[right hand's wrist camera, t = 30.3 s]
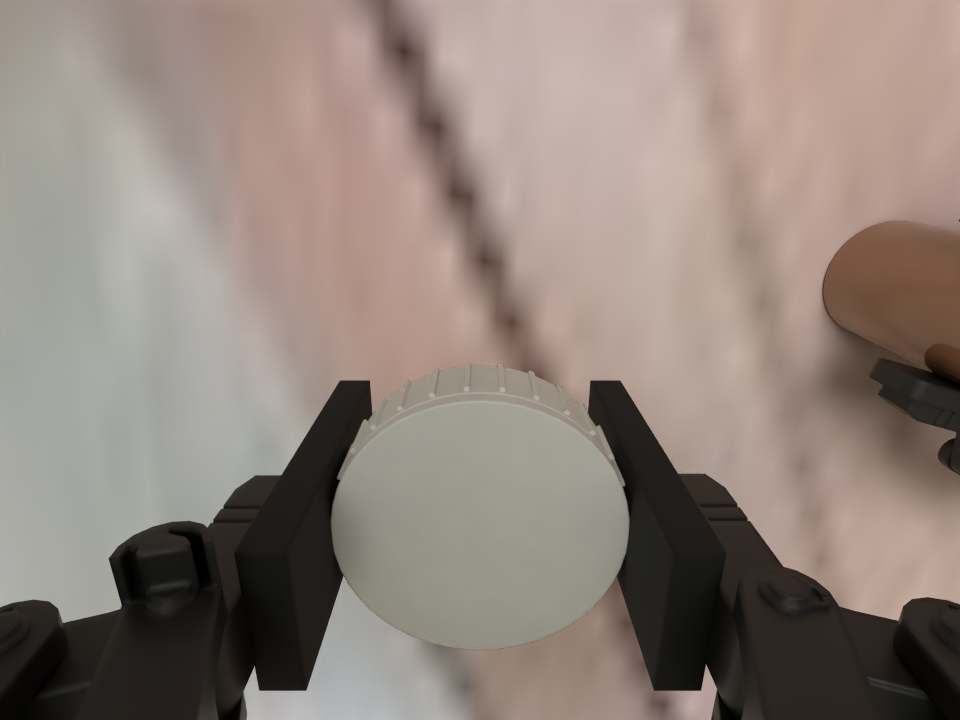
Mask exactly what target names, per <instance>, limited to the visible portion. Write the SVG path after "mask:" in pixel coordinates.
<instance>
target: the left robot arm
mask: <svg viewBox="0 0 960 720" xmlns="http://www.w3.org/2000/svg"><path fill="white" fill-rule="evenodd" d="M959 221H960V220H959ZM869 376H870V377H871V378H872V379H874V380H876V381H878V382H879V383H881V384H883V387H882V389H881V390H880V392H879V394H878V395H880V396H881V397H882V398H883V399H884V400H885V401H886V402H888V403H889V404H891V405H892V406H894V407H895V408H897V409H899V410H900V411H902V412H904V413H905V414H907V415H908V416H910V417H912V418H913V419H915V420H916V421H919V422H923V423H926V424H930V425H934V426H937V427H941V428H945V429H948V430H952V431H955V432H956V438H954V439H951V440H949V441H947V442H946V443H945V444H943V446H942V447H941V448H940V450H939V452H938V459H939V461H940V462H941V463H942V464H943V465H945V466H946V467H948V468H949V469H951V470H952V471H954V472H956V473H957V474H959V475H960V385H958V384H956V383H954V382H952V381H950V380H948V379H946V378H944V377H942V376H940V375H938V374H935V373H932V372H929V371H925V370H922V369H918V368H915V367H911V366H908V365H904V364H901V363H897V362H894V361H890V360H887V359H883V358H879V359H878V361H877V363H876V364H875V366H874V368H873V370H872V371H871V373H870V375H869Z"/></svg>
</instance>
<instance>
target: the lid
mask: <svg viewBox="0 0 960 720" xmlns="http://www.w3.org/2000/svg"><path fill="white" fill-rule="evenodd" d="M337 479H339V480H340V482H339V485H338V487H337V490H336V493H335V497H334V500H333V504H332V512H331V531H332V540H333V548H334V553H335V556H336V559H337V562H338V564H339V567H340V570H341V571H342V573H343V575H344V577H345V579H346V581H347V583H348V584H349V586H350V587H351V588H352V590H353V591H354V592H355V594H356V595H357V596H358V598H359V599H360V600H361V601H362V602H363V603H364V604H365V605H366V606H367V607H368V608H369V609H370V610H371V611H373V612H374V613H375V614H376V615H377V616H379V617H380V618H381V619H382V620H384V621H385V622H387V623H389V624H390V625H392V626H393V627H395V628H396V629H398V630H400V631H403V632H405V633H407V634H409V635H411V636H413V637H416V638H418V639H421V640H424V641H427V642H430V643H434V644H438V645H442V646H446V647H452V648H459V649H473V650H488V649H502V648H508V647H514V646H519V645H523V644H527V643H530V642H534V641H537V640H539V639H542V638H545V637H547V636H550V635H552V634H554V633H556V632H558V631H560V630H562V629H564V628H566V627H567V626H569V625H570V624H572V623H573V622H575V621H576V620H578V619H579V618H581V617H582V616H583V615H584V614H585V613H587V612H588V611H589V610H590V609H591V608H593V607H594V605H595V604H596V603H597V602H598V601H599V600H600V599H601V598H602V597H603V596H604V594H605V593H606V592H607V590H608V589H609V587H610V586H611V585H612V583H613V582H614V580H615V578H616V576H617V574H618V572H619V570H620V568H621V566H622V563H623V560H624V557H625V554H626V550H627V544H628V535H629V522H630V517H629V510H628V503H627V499H626V496H625V493H624V489H623V486H625V482H624V479H623V477H622V475H621V473H620V470H619V468H618V466H617V464H616V461H615V459H614V455H613V453H612V451H611V449H610V446H609V444H608V442H607V440H606V437H605V435H604V433H603V431H602V428H601V427H600V425H599V426H597V427H596V426H595V424H594V423H593V421H592V420H591V418H590V417H589V414H588V412H587V410H586V407H585V405H584V404H583V403H580V404H578V403H577V402H576V401H574V400H573V399H572V398H571V397H570V396H568V395H567V394H566V393H565V392H564V391H563V388H562V386H560V385H559V384H557V386H554V385H552V384H551V383H549V382H547V381H545V380H543V379H540V378H538V377H536V376H535V374H534V372H532V371H529V373H525V372H521V371H518V370H515V369H509V368H503V364H498V366H480V365H478V366H471V363H465V366H464V367H457V368H451V369H446V370H442V371H439V369H434V370H433V374H430V375H427V376H424V377H422V378H420V379H418V380H416V381H414V382H410V381H409V380H408V381H406V382H405V383H404V386H403V388H402V389H400V390H399V391H397V392H395V393H394V394H393V395H392V396H391V397H389V398H388V399H387V400H386V399H385V398H383V399H382V400H381V401H380V403H379V406H378V408H377V410H376V411H375V412H374V414H373V415H372V416H371V417H370V419H369V420H368V421H367V420H365V419H364V421H363V422H362V424H361V427H360V429H359V431H358V433H357V436H356V438H355V440H354V443H353V444H352V445H351V447H350V449H349V451H348V454H347V456H346V458H345V460H344V463H343V465H342V467H341V469H340V472H339V474H338V476H337Z"/></svg>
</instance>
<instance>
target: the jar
mask: <svg viewBox="0 0 960 720" xmlns="http://www.w3.org/2000/svg"><path fill="white" fill-rule="evenodd" d="M823 296H824V302H825V305H826V308H827V310H828V312H829V314H830V316H831V317H832V319H833V320H834V321H835V322H836V323H837V324H838V325H840V326H841V327H842V328H844V329H846V330H848V331H850V332H852V333H854V334H856V335H858V336H860V337H862V338H864V339H866V340H868V341H870V342H872V343H874V344H877V345H879V346H881V347H883V348H885V349H887V350H889V351H891V352H893V353H895V354H897V355H899V356H901V357H903V358H905V359H907V360H909V361H911V362H913V363H915V364H917V365H919V366H921V367H923V368H925V369H927V370H929V371H931V372H933V373H935V374H938V375H940V376H942V377H944V378H946V379H948V380H950V381H952V382H954V383H956V384H958V385H960V231H958V230H953V229H947V228H941V227H935V226H929V225H923V224H918V223H912V222H906V221H889V222H884V223H879V224H877V225H874V226H871V227H869V228H867V229H865V230H863V231H861V232H860V233H858V234H856V235H855V236H854V237H852V238H851V239H850V240H849V241H848V242H847V243H846V244H845V245H843V247H842V248H841V249H840V250H839V251H838V252H837V254H836V255H835V257H834V258H833V260H832V262H831V264H830V266H829V268H828V270H827V273H826V276H825V280H824V287H823Z"/></svg>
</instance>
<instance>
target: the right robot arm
mask: <svg viewBox="0 0 960 720" xmlns="http://www.w3.org/2000/svg"><path fill="white" fill-rule="evenodd" d="M588 414H589V417H590V418H591V420H592V421H593V423H594V424H595V426H596V427H597V426H599V425H600V427H601V428H602V431H603V433H604V435H605V437H606V440H607V442H608V444H609V446H610V449H611V451H612V453H613V455H614V459H615V461H616V464H617V466H618V468H619V470H620V473H621V475H622V477H623V479H624V482H625V486H623V489H624V493H625V496H626V499H627V503H628V510H629V517H630V522H629V535H628V544H627V550H626V554H625V557H624V560H623V563H622V566H621V568H620V570H619V572H618V574H617V578H618V581H619V584H620V587H621V590H622V593H623V596H624V599H625V602H626V605H627V608H628V612H629V615H630V618H631V621H632V624H633V627H634V630H635V633H636V636H637V639H638V642H639V645H640V649H641V652H642V655H643V658H644V661H645V664H646V667H647V670H648V673H649V676H650V679H651V682H652V686H653V689H654V691H701V687H702V682H703V677H704V671H705V666H706V665H707V667H708V669H709V671H710V674H711V676H712V678H713V680H714V683H715V685H716V687H717V693H716V698H715V703H714V708H713V713H712V718H711V720H960V605H959V604H957V603H954V602H951V601H948V600H941V599H935V598H928V597H927V598H919V599H912V600H911V601H909V602H908V603H907V604H906V605H904V606H903V609H902V612H901V615H900V618H899V621H896V620H892V619H887V618H883V617H879V616H874V615H870V614H865V613H861V612H857V611H852V610H849V609H846V608H842V607H839V606H838V604H837V602H836V601H835V599H834V598H833V596H832V595H831V593H830V592H829V591H828V590H827V589H825V588H824V587H823V586H822V585H820V584H819V583H818V582H817V581H816V580H814V579H812V578H810V577H808V576H806V575H804V574H802V573H800V572H798V571H796V570H793V569H789V568H786V567H783V566H782V564H781V563H780V562H779V560H778V559H777V558H776V556H775V555H774V553H773V552H772V551H771V549H770V548H769V547H768V545H767V544H766V543H765V541H764V540H763V538H762V537H761V536H760V534H759V533H758V532H757V530H756V529H755V528H754V526H753V525H752V523H751V522H750V521H747V517H746V515H745V514H744V513H743V511H742V510H741V509H740V507H737V503H736V502H735V500H734V499H733V498H732V496H731V495H730V494H729V492H728V491H727V489H726V488H725V487H723V486H722V485H720V484H719V483H718V482H716V481H715V480H713V479H712V478H710V477H709V476H707V475H706V474H678V473H677V472H676V470H675V468H674V467H673V465H672V463H671V462H670V460H669V459H668V457H667V455H666V454H665V452H664V451H663V449H662V447H661V446H660V444H659V442H658V441H657V439H656V438H655V436H654V434H653V433H652V431H651V430H650V428H649V426H648V425H647V423H646V421H645V420H644V418H643V417H642V415H641V413H640V412H639V410H638V409H637V407H636V405H635V404H634V402H633V400H632V399H631V397H630V396H629V394H628V392H627V391H626V389H625V387H624V386H623V384H622V383H621V381H590V395H589V408H588ZM371 416H372V404H371V390H370V381H340V382H339V383H338V385H337V386H336V388H335V390H334V391H333V393H332V395H331V396H330V398H329V399H328V401H327V403H326V404H325V406H324V407H323V409H322V411H321V412H320V414H319V416H318V417H317V419H316V420H315V422H314V424H313V425H312V427H311V428H310V430H309V432H308V433H307V435H306V437H305V438H304V440H303V441H302V443H301V445H300V446H299V448H298V450H297V451H296V453H295V454H294V456H293V458H292V459H291V461H290V462H289V464H288V466H287V467H286V469H285V471H284V472H283V474H282V475H281V476H254V477H253V478H251V479H250V480H249V481H247V482H246V483H244V484H243V485H241V486H240V487H238V488H237V489H236V490H235V491H234V492H233V494H232V495H231V496H230V498H229V499H228V500H227V502H226V503H225V505H224V506H223V509H221V510H220V511H219V513H218V514H217V516H216V517H215V518H214V521H213V523H211V524H210V525H209V526H208V528H207V527H206V526H205V525H204V524H200V523H196V522H191V521H181V522H170V523H166V524H162V525H158V526H154V527H151V528H149V529H147V530H144V531H142V532H140V533H138V534H136V535H134V536H132V537H131V538H129V539H128V540H127V541H125V542H124V543H122V544H121V545H120V546H118V547H117V549H116V550H115V551H114V553H113V554H112V555H111V556H110V558H109V561H110V565H111V568H112V572H113V575H114V579H115V583H116V586H117V590H118V593H119V597H120V600H121V604H122V607H121V609H119V610H116V611H113V612H109V613H105V614H101V615H96V616H92V617H88V618H83V619H79V620H75V621H70V622H66V623H63V622H62V619H61V616H60V613H59V610H58V608H56V607H55V606H54V605H53V604H52V603H50V602H48V601H40V600H29V601H22V602H16V603H11V604H9V605H6V606H3V607H0V720H246V718H247V710H246V703H245V698H244V693H243V691H244V689H245V686H246V684H247V682H248V680H249V677H250V675H251V673H252V670H253V668H254V666H255V669H256V675H257V680H258V686H259V691H306V690H307V687H308V684H309V680H310V677H311V674H312V671H313V668H314V665H315V662H316V659H317V656H318V653H319V650H320V647H321V643H322V640H323V637H324V634H325V631H326V628H327V625H328V622H329V619H330V616H331V613H332V609H333V606H334V603H335V600H336V597H337V594H338V591H339V588H340V585H341V582H342V579H343V576H344V575H343V573H342V571H341V570H340V567H339V564H338V562H337V559H336V556H335V553H334V548H333V540H332V531H331V512H332V504H333V500H334V497H335V493H336V490H337V487H338V485H339V482H340V480H339V479H337V476H338V474H339V472H340V469H341V467H342V465H343V463H344V460H345V458H346V456H347V454H348V451H349V449H350V447H351V445H352V444H353V443H354V440H355V438H356V436H357V433H358V431H359V429H360V427H361V424H362V422H363V421H364V419H365V420H367V421H368V420H369V419H370V417H371Z"/></svg>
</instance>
